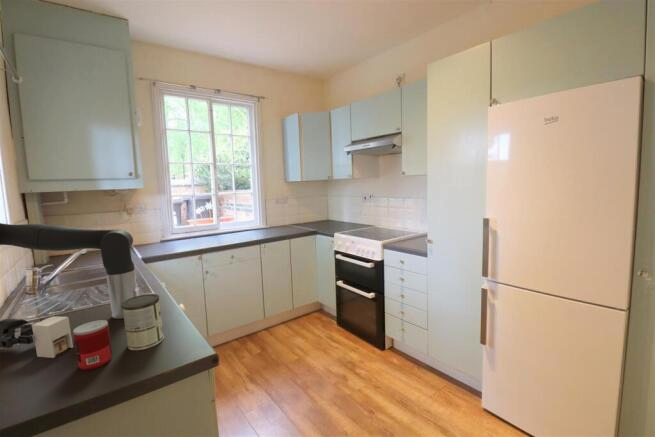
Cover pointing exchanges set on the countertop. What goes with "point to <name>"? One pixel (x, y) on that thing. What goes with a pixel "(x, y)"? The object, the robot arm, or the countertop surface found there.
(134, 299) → the coffee can
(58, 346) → the letter block
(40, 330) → the cover
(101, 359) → the canned food
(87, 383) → the countertop surface
